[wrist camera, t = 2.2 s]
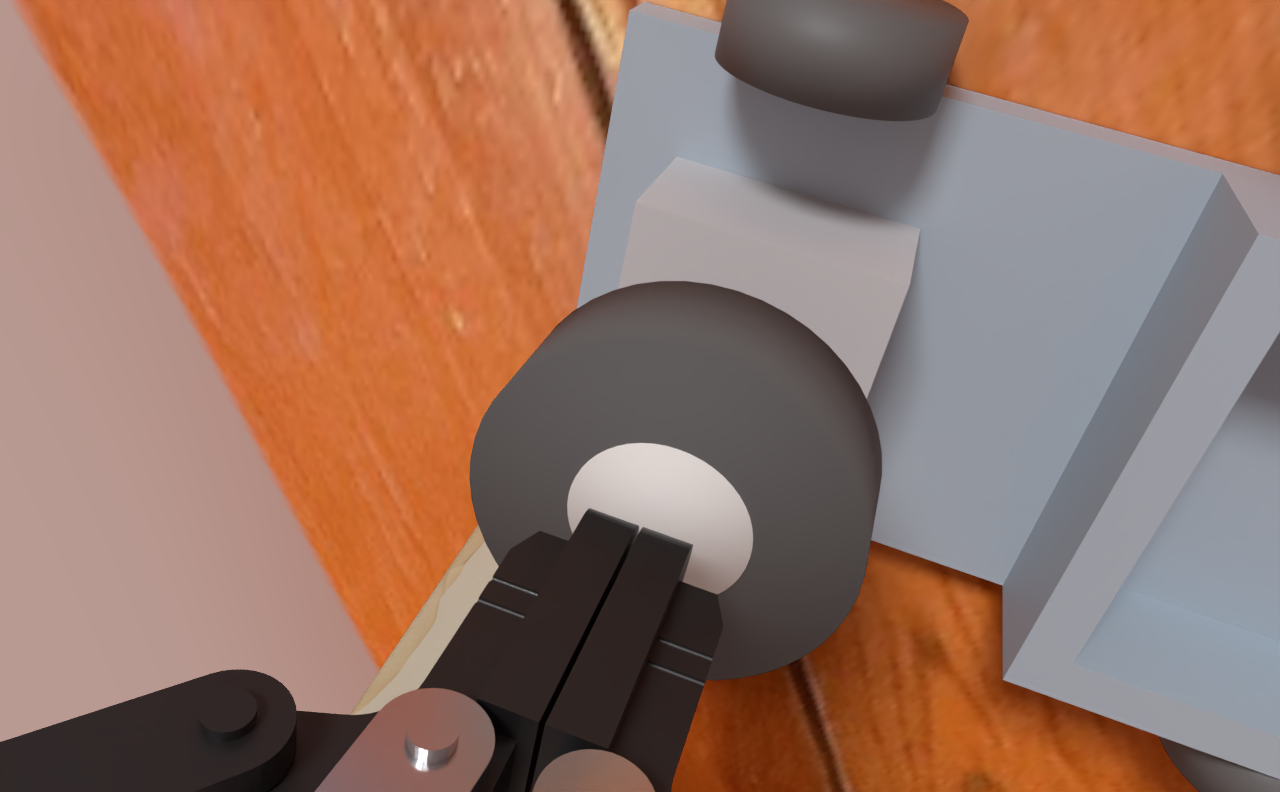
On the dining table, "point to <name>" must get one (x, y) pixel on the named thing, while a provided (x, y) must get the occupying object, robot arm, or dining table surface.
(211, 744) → the robot arm
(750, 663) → the wheel
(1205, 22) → the dining table surface
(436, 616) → the skincare box
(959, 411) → the chassis
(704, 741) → the dining table surface
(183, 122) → the dining table surface
